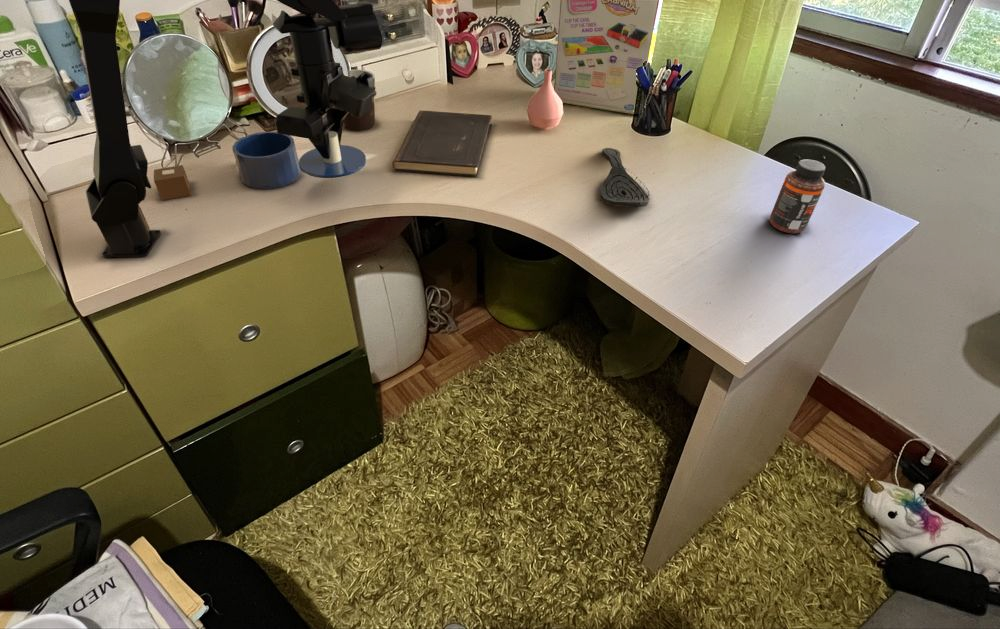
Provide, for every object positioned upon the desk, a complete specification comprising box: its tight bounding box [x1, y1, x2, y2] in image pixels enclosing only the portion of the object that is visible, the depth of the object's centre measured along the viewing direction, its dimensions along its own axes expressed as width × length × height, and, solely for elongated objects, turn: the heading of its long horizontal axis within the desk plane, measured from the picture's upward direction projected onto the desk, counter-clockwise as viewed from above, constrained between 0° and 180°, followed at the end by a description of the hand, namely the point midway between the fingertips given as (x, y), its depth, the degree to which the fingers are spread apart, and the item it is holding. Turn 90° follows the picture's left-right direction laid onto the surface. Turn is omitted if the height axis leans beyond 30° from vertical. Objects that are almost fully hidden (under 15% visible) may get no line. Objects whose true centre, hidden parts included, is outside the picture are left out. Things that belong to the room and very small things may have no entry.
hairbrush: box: [599, 147, 650, 208], centre depth 107 cm, size 8×4×25 cm
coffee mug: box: [343, 68, 376, 132], centre depth 122 cm, size 12×9×10 cm
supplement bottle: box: [769, 158, 826, 234], centre depth 95 cm, size 6×6×11 cm
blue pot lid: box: [298, 131, 367, 179], centre depth 98 cm, size 11×11×6 cm
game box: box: [553, 0, 663, 115], centre depth 126 cm, size 21×6×27 cm, turn 69°
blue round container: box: [232, 131, 302, 190], centre depth 105 cm, size 10×10×6 cm
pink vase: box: [526, 68, 564, 130], centre depth 121 cm, size 8×8×12 cm
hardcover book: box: [392, 109, 493, 178], centre depth 116 cm, size 16×23×2 cm
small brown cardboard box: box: [153, 164, 192, 201], centre depth 100 cm, size 4×5×4 cm
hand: (331, 154), depth 99 cm, fingers closed on blue pot lid, 3 cm apart
